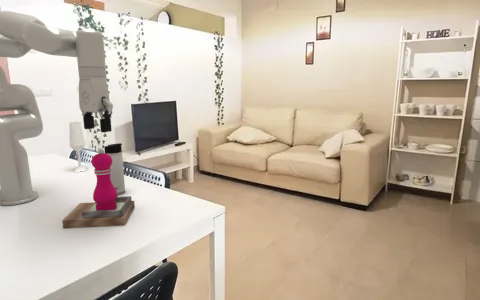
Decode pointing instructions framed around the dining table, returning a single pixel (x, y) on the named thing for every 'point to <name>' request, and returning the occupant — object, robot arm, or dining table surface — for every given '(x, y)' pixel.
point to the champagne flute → (77, 141)
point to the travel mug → (116, 167)
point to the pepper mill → (103, 182)
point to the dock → (99, 214)
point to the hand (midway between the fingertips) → (97, 130)
